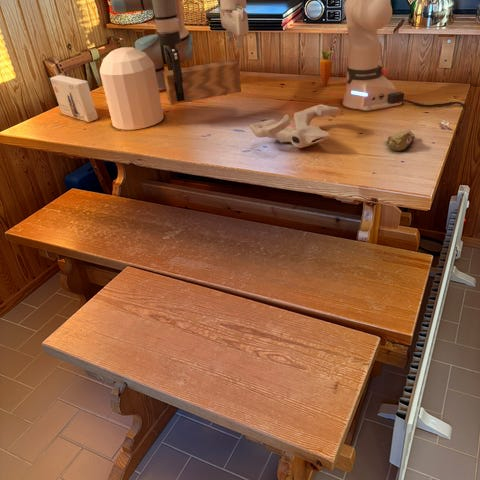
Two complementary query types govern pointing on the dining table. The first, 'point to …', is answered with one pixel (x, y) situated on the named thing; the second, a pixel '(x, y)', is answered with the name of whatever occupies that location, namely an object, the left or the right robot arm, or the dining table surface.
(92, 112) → the skincare box
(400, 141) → the rock
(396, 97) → the right robot arm
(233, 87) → the box
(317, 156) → the dining table surface
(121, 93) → the container
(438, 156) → the dining table surface
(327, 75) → the carrot
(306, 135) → the beige branched piece
